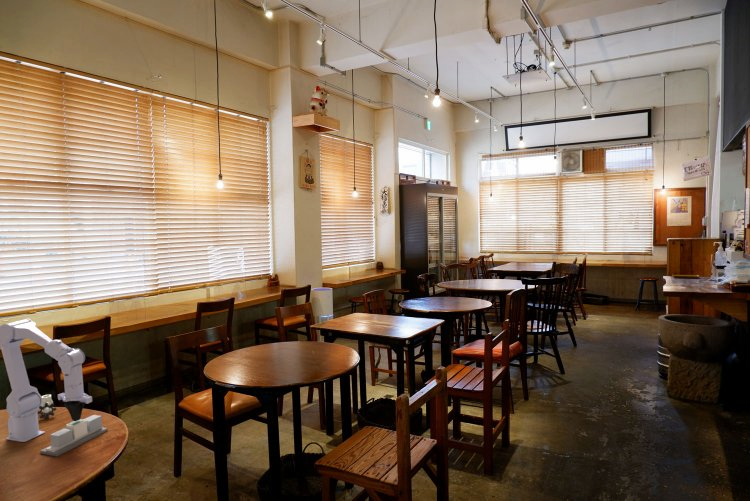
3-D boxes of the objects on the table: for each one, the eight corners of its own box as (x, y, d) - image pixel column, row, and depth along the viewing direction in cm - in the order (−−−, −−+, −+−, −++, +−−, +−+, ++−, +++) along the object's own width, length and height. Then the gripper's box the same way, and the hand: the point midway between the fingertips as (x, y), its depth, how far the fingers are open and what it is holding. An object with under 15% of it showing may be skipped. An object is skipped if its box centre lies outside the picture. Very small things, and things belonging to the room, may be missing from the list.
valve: (38, 411, 198) (37, 421, 189) (36, 396, 198) (36, 405, 188) (56, 407, 202) (57, 416, 192) (55, 392, 202) (55, 401, 192)
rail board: (40, 453, 161) (39, 437, 161) (91, 428, 180) (90, 413, 180) (57, 456, 159) (55, 440, 158) (107, 430, 178) (106, 415, 177)
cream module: (66, 438, 168) (65, 424, 168) (79, 431, 173) (78, 418, 173) (74, 439, 167) (73, 425, 167) (87, 433, 172) (86, 419, 171)
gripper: (48, 386, 167) (51, 422, 168) (78, 389, 163) (81, 427, 164) (67, 379, 174) (69, 414, 175) (96, 382, 169) (98, 418, 170)
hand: (76, 420), depth 170 cm, fingers closed
